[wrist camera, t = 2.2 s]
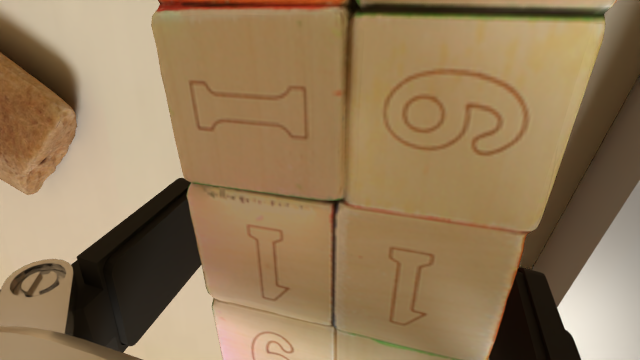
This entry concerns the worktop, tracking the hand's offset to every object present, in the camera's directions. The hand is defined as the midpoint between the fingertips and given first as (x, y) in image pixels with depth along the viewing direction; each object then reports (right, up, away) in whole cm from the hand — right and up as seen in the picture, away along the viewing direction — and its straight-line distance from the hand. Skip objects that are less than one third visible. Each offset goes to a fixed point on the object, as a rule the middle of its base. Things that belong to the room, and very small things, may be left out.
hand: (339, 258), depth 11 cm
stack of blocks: (+3, +4, +8) cm, 9 cm away
